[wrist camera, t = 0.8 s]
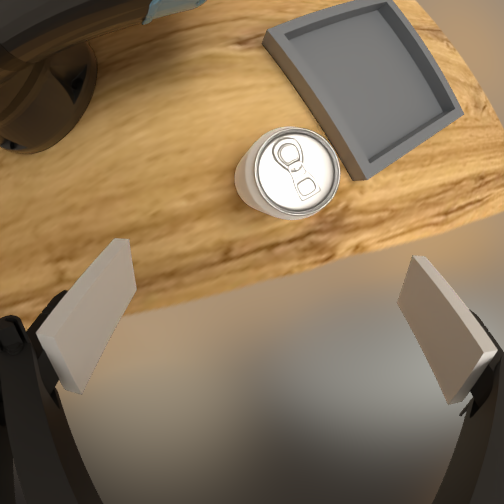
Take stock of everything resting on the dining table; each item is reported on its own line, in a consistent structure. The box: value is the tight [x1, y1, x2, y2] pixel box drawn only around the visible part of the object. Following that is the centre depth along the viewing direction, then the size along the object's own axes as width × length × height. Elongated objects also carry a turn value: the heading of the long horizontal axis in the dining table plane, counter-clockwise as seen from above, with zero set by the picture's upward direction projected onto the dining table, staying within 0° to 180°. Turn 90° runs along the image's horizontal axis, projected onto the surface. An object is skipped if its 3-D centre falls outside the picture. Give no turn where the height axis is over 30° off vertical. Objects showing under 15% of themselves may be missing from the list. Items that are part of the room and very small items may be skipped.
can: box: [235, 127, 340, 220], centre depth 24 cm, size 6×6×12 cm
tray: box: [262, 0, 464, 181], centre depth 27 cm, size 18×18×3 cm
